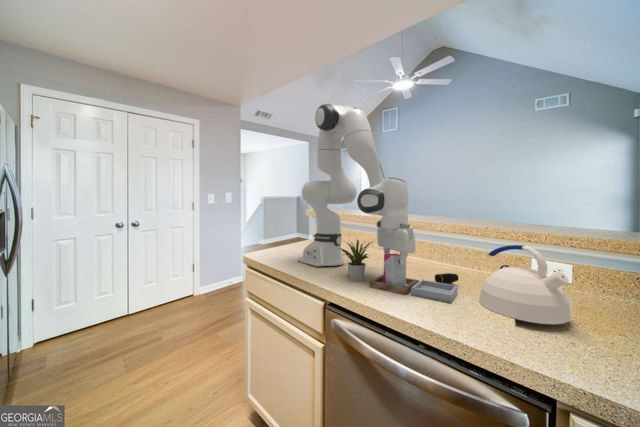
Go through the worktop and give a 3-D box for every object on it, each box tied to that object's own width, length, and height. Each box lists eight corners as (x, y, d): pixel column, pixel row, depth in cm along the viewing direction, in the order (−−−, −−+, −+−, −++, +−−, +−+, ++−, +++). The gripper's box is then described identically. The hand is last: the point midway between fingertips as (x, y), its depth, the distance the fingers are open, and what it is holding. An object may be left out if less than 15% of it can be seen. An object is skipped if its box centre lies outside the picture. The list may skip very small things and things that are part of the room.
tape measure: (460, 283, 91) (458, 272, 92) (445, 285, 89) (443, 274, 90) (446, 282, 97) (444, 272, 98) (432, 285, 95) (430, 274, 96)
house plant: (364, 273, 110) (364, 235, 109) (384, 281, 97) (384, 239, 96) (334, 276, 104) (334, 236, 104) (351, 285, 91) (351, 240, 91)
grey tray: (411, 295, 82) (411, 287, 82) (421, 286, 91) (421, 279, 91) (450, 303, 75) (451, 295, 75) (457, 293, 84) (457, 285, 84)
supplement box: (406, 287, 90) (407, 255, 89) (392, 289, 87) (393, 256, 87) (395, 283, 95) (396, 252, 95) (382, 284, 93) (383, 253, 93)
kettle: (535, 330, 59) (538, 253, 59) (462, 299, 79) (464, 241, 79) (593, 320, 65) (595, 249, 64) (511, 293, 85) (512, 239, 84)
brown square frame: (369, 287, 90) (369, 281, 90) (384, 279, 100) (384, 274, 100) (406, 295, 82) (406, 289, 82) (418, 285, 92) (418, 279, 92)
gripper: (420, 224, 81) (420, 268, 81) (389, 222, 101) (388, 257, 101) (403, 224, 79) (402, 268, 79) (374, 222, 99) (374, 258, 99)
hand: (394, 262), depth 90 cm, fingers open, 8 cm apart
